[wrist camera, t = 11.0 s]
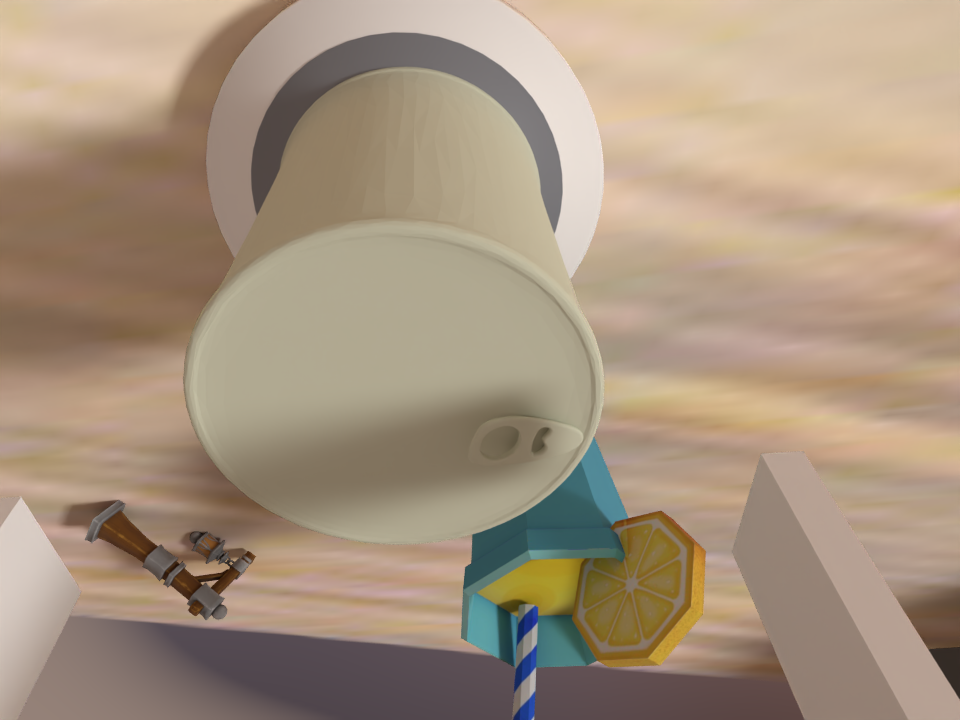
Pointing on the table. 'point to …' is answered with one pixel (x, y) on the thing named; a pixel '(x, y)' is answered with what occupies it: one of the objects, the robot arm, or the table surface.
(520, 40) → the white and grey plate
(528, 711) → the cup
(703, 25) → the table surface
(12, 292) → the table surface
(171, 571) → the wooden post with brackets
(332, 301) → the can
